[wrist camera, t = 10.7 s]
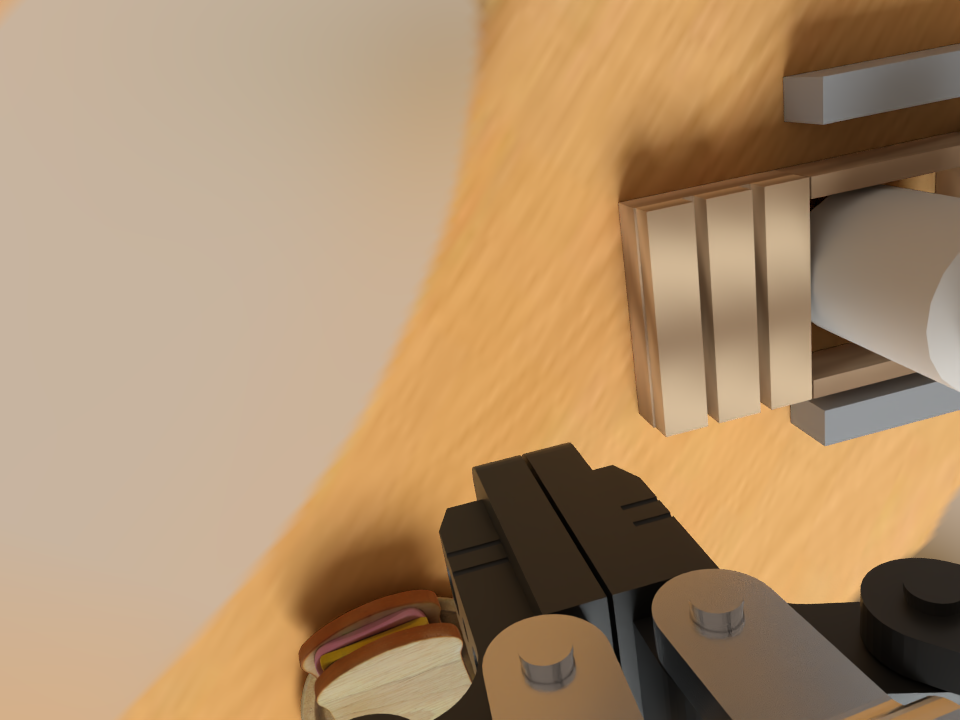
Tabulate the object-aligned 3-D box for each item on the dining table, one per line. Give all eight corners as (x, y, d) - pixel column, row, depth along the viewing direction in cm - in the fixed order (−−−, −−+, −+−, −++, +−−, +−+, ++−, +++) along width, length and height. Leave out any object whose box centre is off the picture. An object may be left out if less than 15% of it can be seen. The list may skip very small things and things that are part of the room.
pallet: (618, 202, 37) (644, 212, 34) (955, 131, 40) (1005, 135, 37) (639, 413, 41) (664, 437, 38) (944, 336, 44) (988, 353, 41)
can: (855, 148, 39) (1079, 174, 28) (932, 246, 41) (1164, 305, 30) (748, 264, 39) (925, 335, 28) (831, 352, 42) (1022, 448, 31)
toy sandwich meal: (329, 798, 45) (333, 875, 41) (270, 606, 40) (267, 670, 36) (538, 734, 47) (564, 801, 43) (506, 543, 42) (530, 596, 38)
